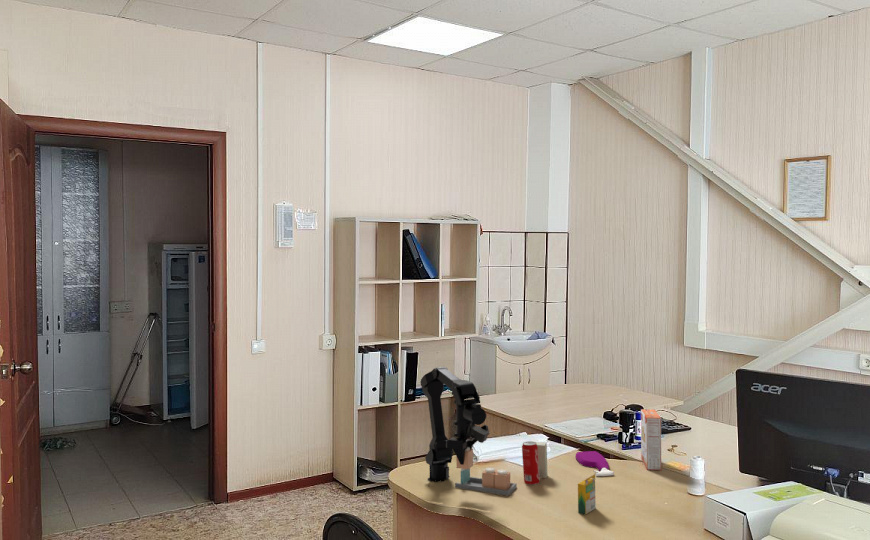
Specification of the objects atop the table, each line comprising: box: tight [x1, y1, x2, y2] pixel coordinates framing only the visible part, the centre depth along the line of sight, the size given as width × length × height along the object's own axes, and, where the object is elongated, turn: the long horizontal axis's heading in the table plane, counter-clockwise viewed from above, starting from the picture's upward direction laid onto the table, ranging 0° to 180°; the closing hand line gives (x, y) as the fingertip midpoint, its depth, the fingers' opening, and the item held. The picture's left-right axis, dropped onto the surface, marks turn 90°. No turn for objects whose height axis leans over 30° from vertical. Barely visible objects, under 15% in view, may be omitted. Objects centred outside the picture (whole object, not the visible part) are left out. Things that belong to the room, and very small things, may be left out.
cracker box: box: [640, 408, 662, 471], centre depth 277 cm, size 14×6×21 cm, turn 172°
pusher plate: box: [460, 468, 471, 484], centre depth 255 cm, size 1×6×6 cm, turn 154°
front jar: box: [494, 469, 511, 490], centre depth 248 cm, size 4×4×7 cm
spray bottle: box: [575, 450, 615, 477], centre depth 276 cm, size 3×11×24 cm
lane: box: [454, 476, 517, 496], centre depth 251 cm, size 20×9×2 cm, turn 64°
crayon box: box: [577, 473, 597, 516], centre depth 230 cm, size 7×3×12 cm, turn 141°
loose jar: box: [455, 447, 474, 470], centre depth 244 cm, size 4×4×7 cm
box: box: [535, 441, 548, 479], centre depth 264 cm, size 5×4×13 cm
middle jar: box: [481, 467, 498, 488], centre depth 250 cm, size 4×4×7 cm
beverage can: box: [521, 441, 541, 486], centre depth 257 cm, size 6×6×15 cm
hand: (464, 462), depth 244 cm, fingers closed on loose jar, 4 cm apart
